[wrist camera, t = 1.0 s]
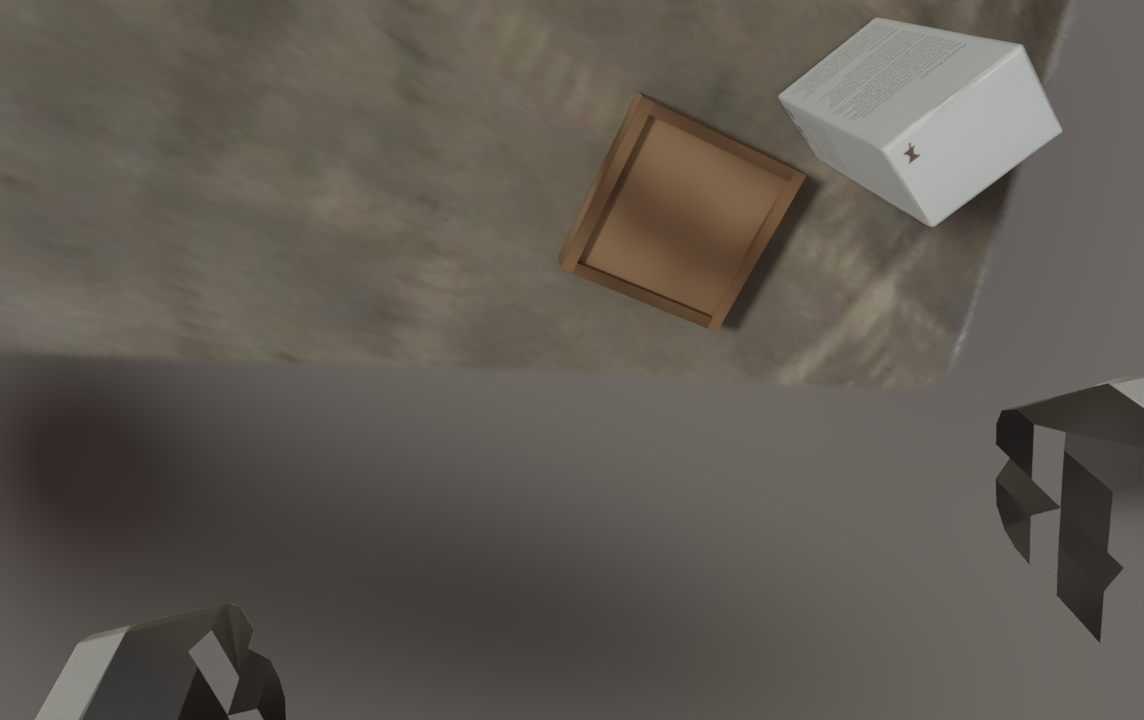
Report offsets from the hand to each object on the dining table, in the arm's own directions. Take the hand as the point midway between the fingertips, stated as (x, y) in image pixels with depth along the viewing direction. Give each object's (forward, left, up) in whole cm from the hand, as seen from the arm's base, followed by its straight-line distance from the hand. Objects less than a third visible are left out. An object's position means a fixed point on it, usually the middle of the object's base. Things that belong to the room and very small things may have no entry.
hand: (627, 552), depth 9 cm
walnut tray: (+3, +11, -35) cm, 37 cm away
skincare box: (-6, +16, -35) cm, 39 cm away
